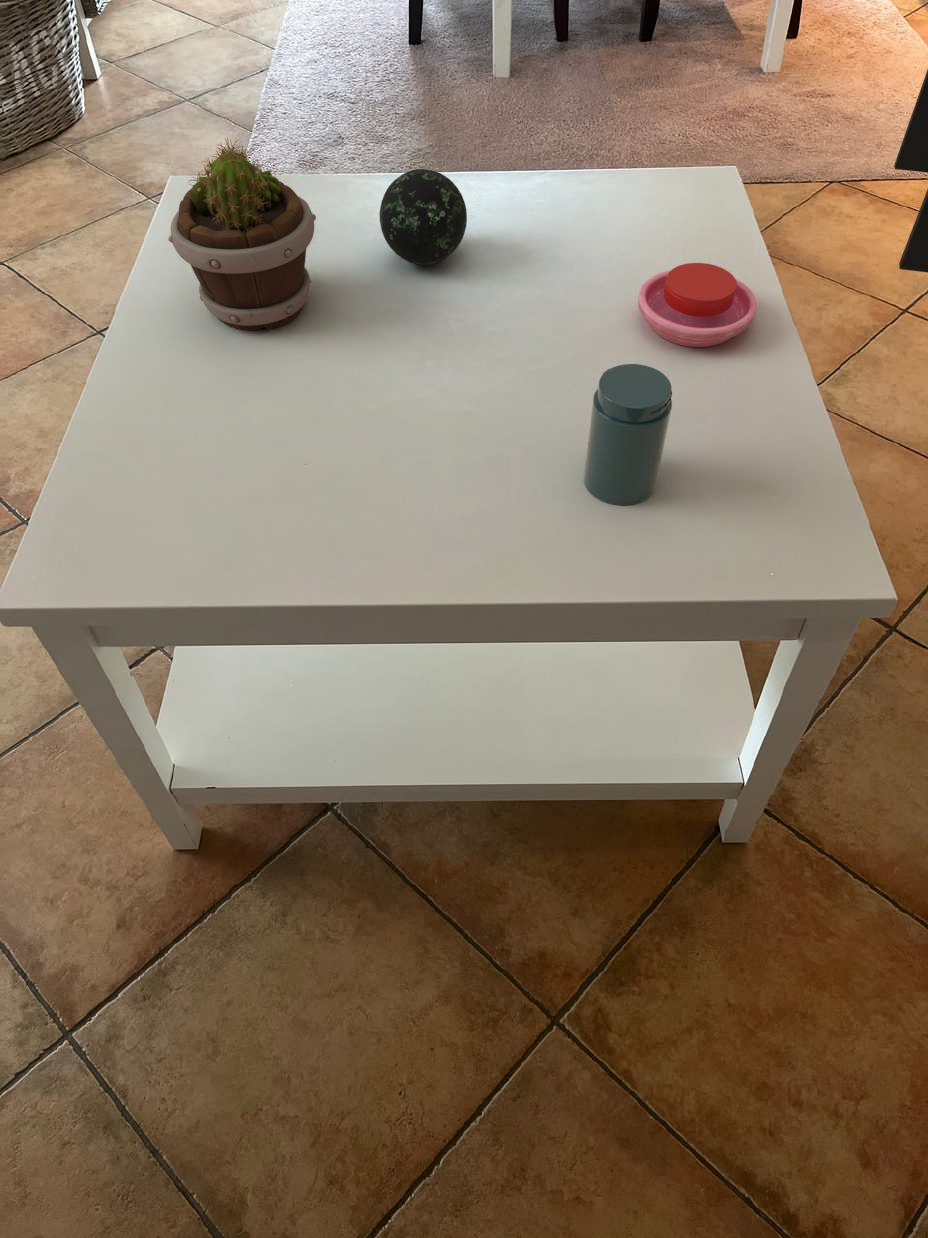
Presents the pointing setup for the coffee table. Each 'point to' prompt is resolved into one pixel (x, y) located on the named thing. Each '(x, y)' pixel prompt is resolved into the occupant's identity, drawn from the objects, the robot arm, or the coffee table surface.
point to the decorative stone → (423, 216)
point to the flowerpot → (245, 242)
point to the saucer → (694, 327)
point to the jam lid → (699, 289)
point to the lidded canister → (627, 433)
